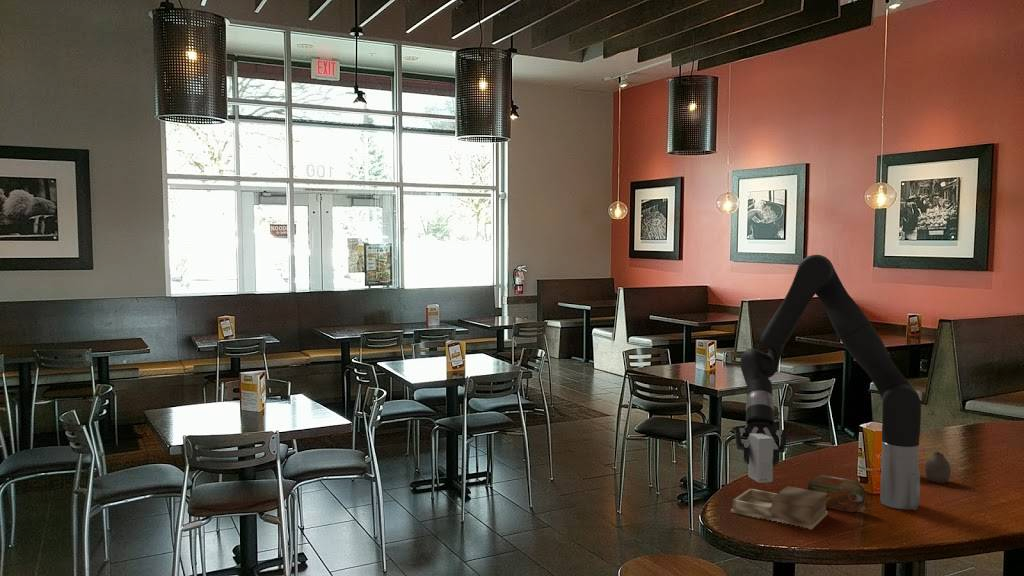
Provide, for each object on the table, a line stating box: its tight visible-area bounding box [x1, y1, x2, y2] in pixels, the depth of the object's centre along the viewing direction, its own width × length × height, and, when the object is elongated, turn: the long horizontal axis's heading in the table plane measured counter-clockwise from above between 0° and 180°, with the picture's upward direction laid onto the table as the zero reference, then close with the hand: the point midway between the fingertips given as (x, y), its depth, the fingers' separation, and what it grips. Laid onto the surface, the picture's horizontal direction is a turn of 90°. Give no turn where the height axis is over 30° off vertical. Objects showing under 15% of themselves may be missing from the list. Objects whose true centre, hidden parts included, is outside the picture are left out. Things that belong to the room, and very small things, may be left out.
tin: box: [807, 474, 867, 513], centre depth 208 cm, size 15×3×8 cm, turn 49°
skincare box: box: [747, 433, 774, 484], centre depth 206 cm, size 6×4×12 cm
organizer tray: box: [730, 485, 828, 530], centre depth 203 cm, size 21×14×6 cm, turn 52°
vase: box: [924, 451, 952, 484], centre depth 231 cm, size 7×7×9 cm
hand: (761, 463), depth 204 cm, fingers closed on skincare box, 6 cm apart
